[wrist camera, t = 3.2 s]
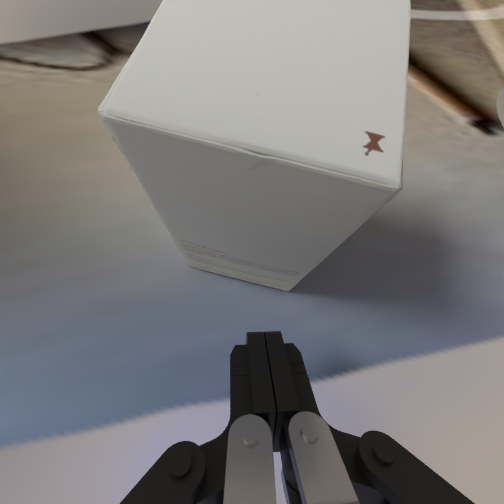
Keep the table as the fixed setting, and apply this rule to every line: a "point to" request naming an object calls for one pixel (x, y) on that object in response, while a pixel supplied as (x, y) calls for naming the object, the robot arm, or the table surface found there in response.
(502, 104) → the monster figurine
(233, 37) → the supplement box
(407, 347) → the table surface
